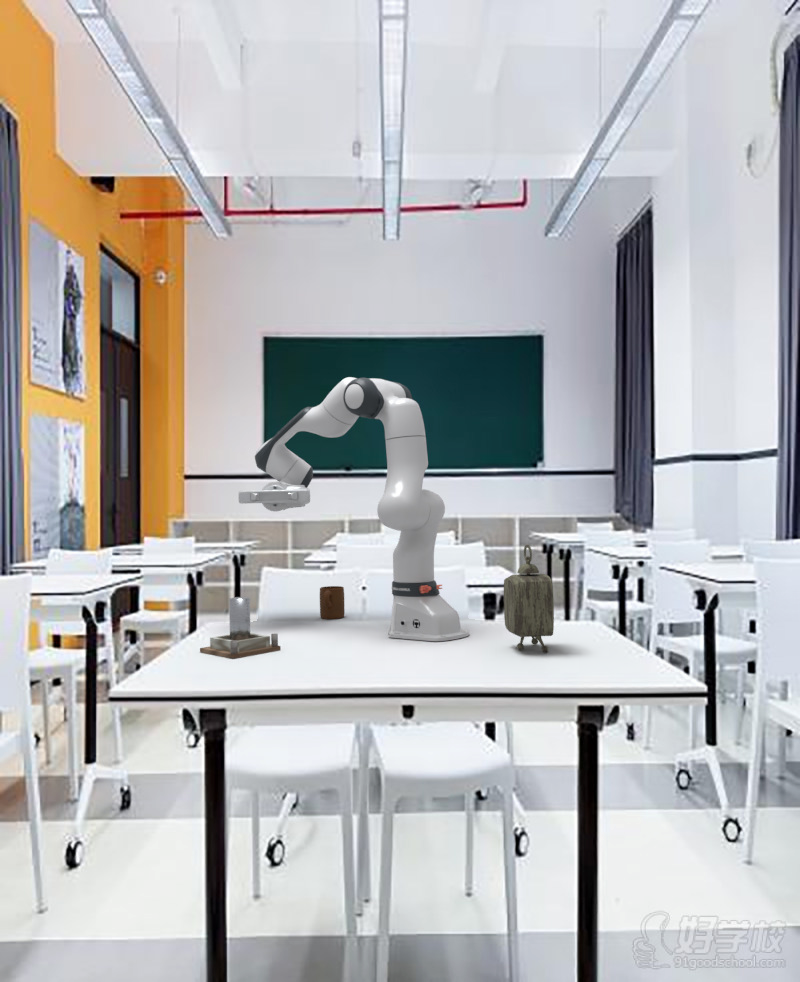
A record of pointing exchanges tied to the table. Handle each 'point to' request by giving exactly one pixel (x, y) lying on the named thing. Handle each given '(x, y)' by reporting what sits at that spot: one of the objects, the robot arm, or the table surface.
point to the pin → (239, 618)
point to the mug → (332, 602)
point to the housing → (241, 646)
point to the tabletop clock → (529, 603)
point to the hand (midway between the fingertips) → (273, 496)
